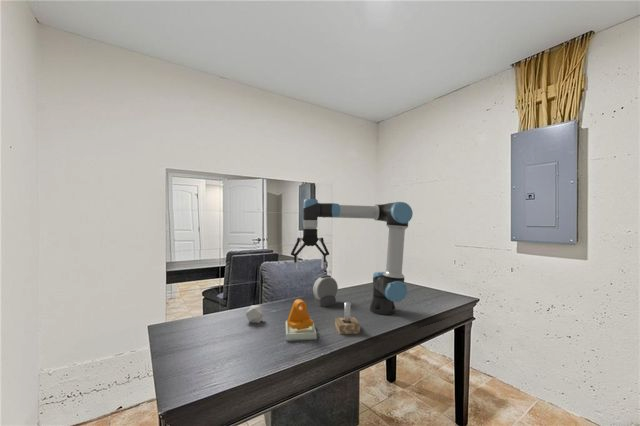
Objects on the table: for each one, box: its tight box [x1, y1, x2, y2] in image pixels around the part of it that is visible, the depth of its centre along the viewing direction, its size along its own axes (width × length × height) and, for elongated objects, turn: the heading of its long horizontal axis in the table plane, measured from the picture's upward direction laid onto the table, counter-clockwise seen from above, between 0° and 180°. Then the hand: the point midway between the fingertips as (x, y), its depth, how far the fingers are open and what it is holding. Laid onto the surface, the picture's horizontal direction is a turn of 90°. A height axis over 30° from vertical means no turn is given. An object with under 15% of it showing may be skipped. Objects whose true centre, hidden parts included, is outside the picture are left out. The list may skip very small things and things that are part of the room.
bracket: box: [286, 298, 314, 330], centre depth 131 cm, size 11×7×12 cm, turn 117°
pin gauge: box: [343, 301, 352, 323], centre depth 136 cm, size 3×3×13 cm
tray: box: [284, 320, 318, 342], centre depth 131 cm, size 14×16×3 cm
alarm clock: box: [312, 274, 339, 307], centre depth 177 cm, size 16×10×18 cm, turn 122°
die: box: [245, 305, 265, 324], centre depth 144 cm, size 8×9×10 cm
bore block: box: [334, 316, 361, 335], centre depth 136 cm, size 10×10×4 cm
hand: (309, 268), depth 144 cm, fingers open, 13 cm apart
